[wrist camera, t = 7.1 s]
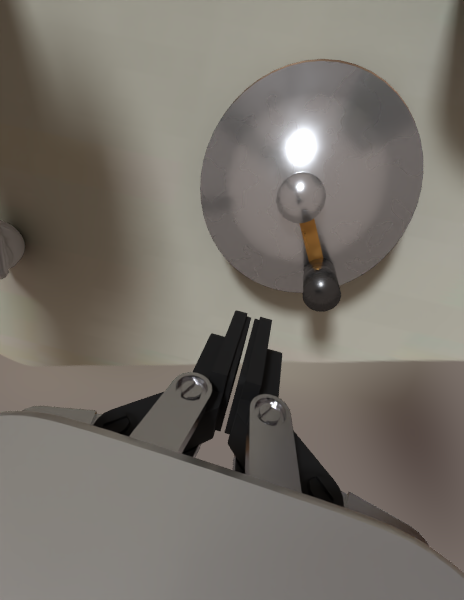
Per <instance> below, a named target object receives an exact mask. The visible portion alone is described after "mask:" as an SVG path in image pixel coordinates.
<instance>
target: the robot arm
mask: <svg viewBox="0 0 464 600" xmlns="http://www.w3.org/2000/svg"><path fill="white" fill-rule="evenodd" d="M250 320H251V318H250V317H247V313H244V312H240V311H235V313H234V316H233V318H232V321H231V324H230V326H229V329H228V331H227V334H226V336H225V337H223V336H220V335H216V334H211V335H210V337H209V339H208V341H207V343H206V345H205V347H204V349H203V352H202V354H201V356H200V358H199V360H198V362H197V364H196V366H195V368H194V370H193V372H188V373H183V374H181V375H179V376H178V377H176V378H175V379H174V380H173V381H172V383H171V384H170V385H169V387H168V388H167V389H166V391H165V392H162V393H159V394H156V395H153V396H150V397H147V398H144V399H141V400H138V401H135V402H132V403H130V404H127V405H124V406H121V407H118V408H115V409H112V410H110V411H108V412H105V413H104V414H97V412H96V411H95V410H84V409H72V408H60V407H48V406H33V407H30V408H27V409H24V410H22V411H8V412H7V411H5V412H0V600H464V572H462V571H461V570H460V569H459V568H458V567H457V566H455V565H454V564H453V563H452V562H450V561H449V560H448V559H446V558H445V557H443V556H442V555H441V554H439V553H438V552H437V551H435V550H434V549H433V548H431V547H430V546H429V545H428V543H427V541H426V540H425V539H424V538H423V537H422V535H421V534H420V533H419V532H418V531H416V530H415V529H414V528H412V527H411V526H409V525H408V524H406V523H404V522H402V521H401V520H399V519H397V518H395V517H394V516H392V515H390V514H388V513H386V512H385V511H383V510H381V509H379V508H377V507H376V506H374V505H372V504H370V503H368V502H367V501H365V500H363V499H361V498H360V497H358V496H356V495H354V494H353V493H351V492H348V494H346V493H344V492H342V491H340V488H339V487H338V485H337V484H336V482H335V481H334V479H333V478H332V477H331V476H330V475H329V473H328V472H327V471H326V470H325V469H324V467H323V466H322V465H321V464H320V463H319V461H318V460H317V459H316V458H315V456H314V455H313V454H312V453H311V452H310V450H309V449H308V448H307V447H306V445H305V444H304V443H303V442H302V441H301V439H300V438H299V437H298V436H297V434H296V433H295V432H294V431H293V426H292V419H291V413H290V410H289V408H288V406H287V405H286V403H284V402H283V401H282V400H281V399H279V398H278V396H279V384H280V372H281V362H282V353H280V352H277V351H273V350H270V349H267V348H268V342H269V336H270V330H271V324H272V320H270V319H266V318H262V317H260V320H258V319H255V320H254V324H253V328H252V332H251V335H250V339H249V343H248V347H247V350H246V354H245V358H244V362H243V365H242V369H241V373H240V377H239V380H238V385H237V388H236V392H235V395H234V399H233V403H232V407H231V411H230V414H229V418H228V422H227V426H226V430H225V433H227V434H230V436H229V440H228V445H229V446H230V448H231V450H232V451H233V453H234V459H233V470H230V469H227V468H224V467H221V466H218V465H215V464H212V463H209V462H206V461H202V460H199V459H196V458H195V457H196V455H197V453H198V451H199V449H200V446H201V444H202V443H204V442H206V441H208V440H210V439H212V438H213V436H214V432H215V430H217V431H221V427H222V423H223V420H224V416H225V413H226V409H227V406H228V402H229V399H230V395H231V392H232V388H233V385H234V381H235V377H236V374H237V370H238V366H239V363H240V359H241V355H242V351H243V348H244V344H245V340H246V336H247V332H248V328H249V324H250Z"/></svg>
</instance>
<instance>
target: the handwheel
mask: <svg viewBox="0 0 464 600" xmlns="http://www.w3.org/2000/svg"><path fill="white" fill-rule="evenodd" d="M422 179H423V152H422V146H421V139H420V136H419V133H418V130H417V127H416V124H415V121H414V120H413V118H412V116H411V114H410V112H409V110H408V108H407V106H406V105H405V104H404V102H403V101H402V100H401V98H400V97H399V96H398V94H397V93H396V92H395V91H394V90H393V89H392V88H390V87H389V86H388V85H387V84H386V83H385V82H384V81H382V80H381V79H379V78H378V77H376V76H375V75H373V74H372V73H370V72H368V71H365V70H363V69H361V68H358V67H356V66H353V65H349V64H344V63H340V62H330V61H314V62H304V63H300V64H296V65H292V66H288V67H285V68H283V69H281V70H278V71H276V72H273V73H271V74H269V75H268V76H266V77H264V78H263V79H261V80H259V81H258V82H256V83H255V84H254V85H252V86H251V87H250V88H248V89H247V90H246V91H245V92H243V93H242V94H241V95H240V97H239V98H238V99H237V100H236V101H235V102H234V103H233V104H232V105H231V106H230V107H229V109H228V110H227V111H226V113H225V114H224V115H223V117H222V118H221V120H220V122H219V123H218V125H217V127H216V129H215V130H214V132H213V135H212V137H211V139H210V142H209V144H208V147H207V150H206V153H205V157H204V160H203V166H202V172H201V186H200V191H201V204H202V209H203V215H204V218H205V221H206V225H207V228H208V230H209V232H210V235H211V237H212V239H213V241H214V242H215V244H216V246H217V247H218V249H219V250H220V252H221V253H222V254H223V256H224V257H225V258H226V259H227V260H228V261H229V262H230V263H231V264H232V266H233V267H235V268H236V269H237V270H238V271H240V272H241V273H242V274H243V275H245V276H246V277H248V278H250V279H251V280H253V281H255V282H257V283H259V284H261V285H264V286H267V287H270V288H273V289H276V290H281V291H286V292H298V293H301V292H303V300H304V302H305V304H306V305H307V306H308V307H309V308H311V309H312V310H315V311H328V310H330V309H332V308H334V307H335V306H336V305H337V304H338V303H339V301H340V297H341V292H340V288H339V286H340V285H342V284H345V283H347V282H350V281H351V280H353V279H355V278H357V277H359V276H361V275H362V274H364V273H365V272H367V271H368V270H370V269H371V268H373V267H374V266H375V265H376V264H377V263H378V262H380V261H381V260H382V259H383V258H384V257H385V256H386V255H387V254H388V253H389V252H390V250H391V249H392V248H393V247H394V246H395V245H396V243H397V242H398V240H399V239H400V238H401V236H402V235H403V233H404V232H405V230H406V228H407V226H408V224H409V223H410V221H411V219H412V216H413V214H414V211H415V209H416V206H417V203H418V199H419V196H420V192H421V187H422Z"/></svg>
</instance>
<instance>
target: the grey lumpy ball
mask: <svg viewBox="0 0 464 600" xmlns="http://www.w3.org/2000/svg"><path fill="white" fill-rule="evenodd" d="M24 250H25V243H24V240H23V237H22V236H21V234H20V233H19V231H18V230H17V229H16V228H14V227H13V226H12V225H10V224H8V223H6V222H4V221H1V220H0V279H3V278H5V277H6V276H7V274H8V273H9V270H8V269H9V268H11V267H13V266H15V265H16V263H17V262H18V261H19V260H20V259H21V257H22V256H23V254H24Z"/></svg>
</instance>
